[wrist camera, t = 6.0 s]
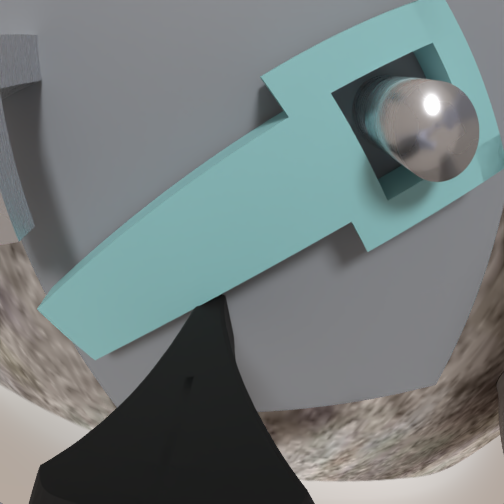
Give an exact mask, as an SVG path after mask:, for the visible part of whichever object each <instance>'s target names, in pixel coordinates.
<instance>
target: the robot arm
mask: <svg viewBox="0 0 504 504" xmlns="http://www.w3.org/2000/svg"><path fill="white" fill-rule="evenodd" d="M0 504H2V503H0ZM29 504H315V503H314V502H313V500H312V498H311V496H310V495H309V493H308V491H307V489H306V488H305V487H304V485H303V484H302V483H301V481H300V480H299V479H298V477H297V476H296V475H295V473H294V472H293V470H292V469H291V468H290V466H289V465H288V463H287V462H286V460H285V459H284V457H283V456H282V454H281V452H280V451H279V449H278V448H277V446H276V445H275V443H274V441H273V439H272V438H271V436H270V434H269V432H268V431H267V429H266V427H265V425H264V424H263V422H262V420H261V418H260V416H259V414H258V413H257V410H256V408H255V406H254V404H253V402H252V400H251V398H250V396H249V394H248V391H247V389H246V387H245V385H244V382H243V380H242V377H241V375H240V372H239V369H238V367H237V364H236V358H235V345H234V334H233V329H232V324H231V320H230V315H229V310H228V305H227V300H226V296H225V295H223V293H222V294H221V295H219V296H217V297H215V298H213V299H211V300H209V301H208V302H206V303H204V304H202V305H200V306H196V307H195V308H194V309H193V311H192V312H191V314H190V316H189V317H188V319H187V320H186V322H185V324H184V325H183V327H182V328H181V330H180V331H179V333H178V334H177V336H176V337H175V339H174V340H173V342H172V343H171V345H170V346H169V348H168V349H167V350H166V352H165V353H164V354H163V356H162V357H161V358H160V360H159V361H158V362H157V364H156V365H155V366H154V368H153V369H152V370H151V371H150V373H149V374H148V375H147V376H146V377H145V379H144V380H143V381H142V382H141V383H140V384H139V386H138V387H137V388H136V389H135V390H134V391H133V392H132V393H131V394H130V395H129V396H128V397H127V398H126V399H125V400H124V401H123V402H122V403H121V404H120V405H119V406H118V407H117V408H116V409H115V410H114V411H113V412H112V413H111V414H110V415H109V416H108V417H107V418H106V419H105V420H104V421H102V422H101V423H100V424H99V425H97V426H96V427H95V428H94V429H93V430H91V431H90V432H89V433H88V434H86V435H85V436H84V437H83V438H82V439H80V440H79V441H77V442H76V443H75V444H73V445H72V446H71V447H69V448H67V449H66V450H64V451H63V452H61V453H60V454H58V455H56V456H55V457H53V458H52V459H50V460H49V461H47V462H45V463H44V464H42V465H40V467H39V470H38V473H37V476H36V480H35V483H34V487H33V490H32V494H31V497H30V501H29Z"/></svg>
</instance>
